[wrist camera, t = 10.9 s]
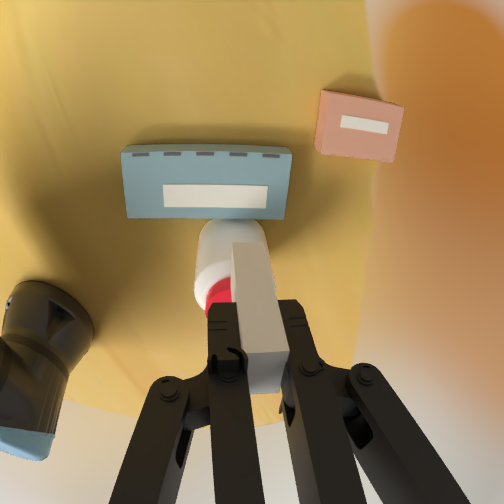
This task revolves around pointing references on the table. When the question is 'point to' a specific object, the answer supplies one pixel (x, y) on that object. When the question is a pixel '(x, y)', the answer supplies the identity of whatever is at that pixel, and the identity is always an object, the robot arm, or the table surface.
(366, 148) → the pink labeled box
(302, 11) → the table surface
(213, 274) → the pill bottle
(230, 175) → the blue labeled box
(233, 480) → the robot arm
